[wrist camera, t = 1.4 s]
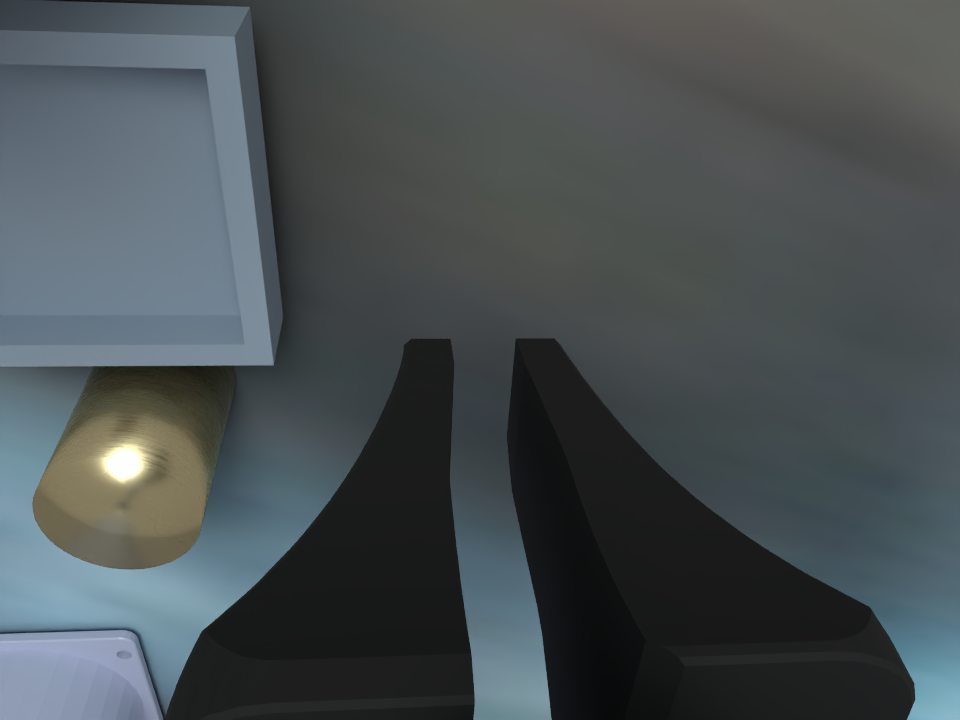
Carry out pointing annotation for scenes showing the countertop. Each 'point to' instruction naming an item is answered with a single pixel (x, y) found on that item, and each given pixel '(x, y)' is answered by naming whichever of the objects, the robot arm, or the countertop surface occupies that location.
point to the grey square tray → (133, 188)
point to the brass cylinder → (136, 464)
